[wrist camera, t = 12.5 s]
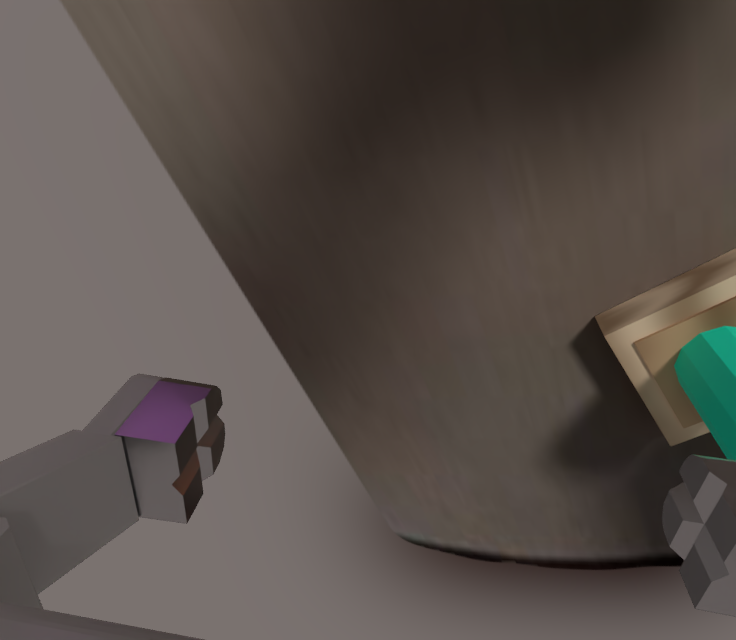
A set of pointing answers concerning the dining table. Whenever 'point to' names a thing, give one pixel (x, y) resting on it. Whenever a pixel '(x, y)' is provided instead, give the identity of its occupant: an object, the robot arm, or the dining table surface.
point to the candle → (712, 382)
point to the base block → (671, 338)
